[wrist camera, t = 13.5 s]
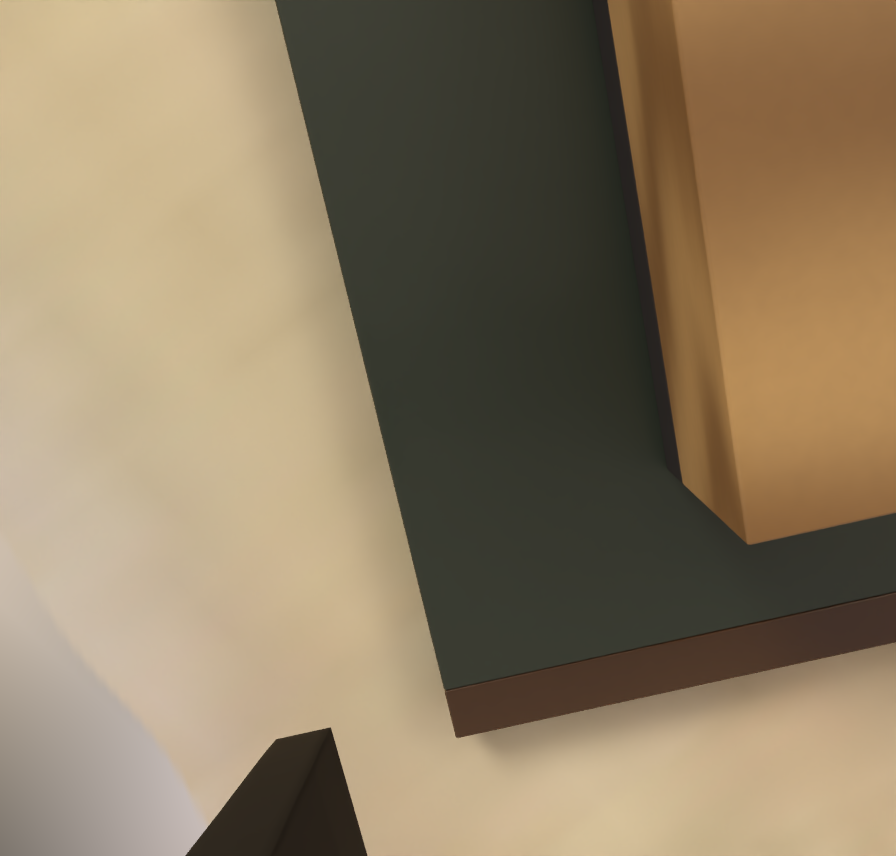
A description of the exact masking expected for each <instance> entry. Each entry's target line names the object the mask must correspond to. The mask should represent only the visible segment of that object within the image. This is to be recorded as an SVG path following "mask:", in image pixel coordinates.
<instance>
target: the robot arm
mask: <svg viewBox="0 0 896 856" xmlns="http://www.w3.org/2000/svg"><path fill="white" fill-rule="evenodd" d="M186 856H367V853H366V849H365V846H364V842H363V839H362V835H361V832H360V828H359V825H358V821H357V818H356V814H355V811H354V807H353V804H352V800H351V797H350V793H349V790H348V786H347V783H346V779H345V776H344V772H343V769H342V765H341V762H340V758H339V755H338V751H337V748H336V744H335V741H334V737H333V734H332V730H331V728H326V729H322V730H317V731H312V732H308V733H303V734H299V735H294V736H290V737H285V738H280V739H276V740H275V741H274V743H273V744H272V745H271V746H270V747H269V749H268V750H267V751H266V752H265V753H264V755H263V756H262V757H261V758H260V760H259V761H258V762H257V764H256V765H255V766H254V767H253V769H252V770H251V771H250V773H249V774H248V775H247V777H246V778H245V779H244V781H243V782H242V783H241V785H240V786H239V787H238V789H237V790H236V791H235V792H234V794H233V795H232V796H231V798H230V799H229V800H228V802H227V803H226V804H225V806H224V807H223V808H222V810H221V811H220V812H219V813H218V815H217V816H216V817H215V819H214V820H213V821H212V822H211V824H210V825H209V826H208V828H207V829H206V830H205V831H204V833H203V834H202V835H201V836H200V838H199V839H198V840H197V842H196V843H195V844H194V845H193V847H192V848H191V850H190V851H189V852H188V853H187V855H186Z"/></svg>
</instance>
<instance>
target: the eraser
mask: <svg viewBox="0 0 896 856" xmlns="http://www.w3.org/2000/svg"><path fill="white" fill-rule="evenodd" d="M592 2H593V8H594V14H595V21H596V27H597V33H598V39H599V46H600V52H601V58H602V64H603V71H604V77H605V83H606V89H607V96H608V102H609V108H610V114H611V121H612V127H613V133H614V139H615V146H616V152H617V158H618V164H619V171H620V177H621V183H622V189H623V196H624V202H625V208H626V214H627V221H628V227H629V233H630V239H631V246H632V252H633V258H634V264H635V271H636V277H637V283H638V289H639V296H640V302H641V308H642V314H643V321H644V327H645V333H646V339H647V346H648V352H649V358H650V364H651V371H652V377H653V383H654V389H655V396H656V402H657V408H658V414H659V421H660V427H661V433H662V439H663V446H664V452H665V458H666V464H667V469H668V470H669V471H670V472H671V473H672V474H673V475H674V476H675V477H676V478H677V479H679V480H680V481H681V482H682V483H683V484H684V485H685V486H686V487H687V488H688V489H689V490H690V491H691V492H692V493H693V494H694V495H695V496H696V497H697V498H699V499H700V500H701V501H702V502H703V503H704V504H705V505H706V506H707V507H708V508H709V509H710V510H711V511H712V512H713V513H715V514H716V515H717V516H718V517H719V518H720V519H721V520H722V521H723V522H724V523H725V524H726V525H727V526H728V527H729V528H731V529H732V530H733V531H734V532H735V533H736V534H737V535H738V536H739V537H740V538H741V539H742V540H743V541H744V542H745V543H747V544H749V545H752V544H757V543H761V542H766V541H770V540H775V539H779V538H784V537H788V536H793V535H798V534H802V533H807V532H811V531H816V530H820V529H825V528H829V527H834V526H838V525H843V524H848V523H852V522H857V521H861V520H866V519H870V518H875V517H879V516H884V515H889V514H893V513H896V0H592Z"/></svg>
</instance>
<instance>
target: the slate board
mask: <svg viewBox="0 0 896 856" xmlns="http://www.w3.org/2000/svg"><path fill="white" fill-rule="evenodd" d="M275 2H276V6H277V10H278V14H279V18H280V22H281V26H282V30H283V34H284V39H285V43H286V47H287V51H288V55H289V59H290V63H291V67H292V71H293V75H294V79H295V83H296V87H297V91H298V96H299V100H300V104H301V108H302V112H303V116H304V120H305V124H306V128H307V132H308V136H309V140H310V144H311V149H312V153H313V157H314V161H315V165H316V169H317V173H318V177H319V181H320V185H321V189H322V193H323V197H324V202H325V206H326V210H327V214H328V218H329V222H330V226H331V230H332V234H333V238H334V242H335V246H336V250H337V255H338V259H339V263H340V267H341V271H342V275H343V279H344V283H345V287H346V291H347V295H348V299H349V303H350V308H351V312H352V316H353V320H354V324H355V328H356V332H357V336H358V340H359V344H360V348H361V352H362V356H363V361H364V365H365V369H366V373H367V377H368V381H369V385H370V389H371V393H372V397H373V401H374V405H375V409H376V413H377V418H378V422H379V426H380V430H381V434H382V438H383V442H384V446H385V450H386V454H387V458H388V462H389V466H390V471H391V475H392V479H393V483H394V487H395V491H396V495H397V499H398V503H399V507H400V511H401V515H402V519H403V524H404V528H405V532H406V536H407V540H408V544H409V548H410V552H411V556H412V560H413V564H414V568H415V572H416V577H417V581H418V585H419V589H420V593H421V597H422V601H423V605H424V609H425V613H426V617H427V621H428V625H429V630H430V634H431V638H432V642H433V646H434V650H435V654H436V658H437V662H438V666H439V670H440V674H441V678H442V683H443V687H444V689H445V695H446V699H447V703H448V707H449V711H450V715H451V719H452V723H453V727H454V731H455V735H456V737H457V738H460V737H465V736H469V735H474V734H478V733H483V732H487V731H492V730H497V729H501V728H506V727H510V726H515V725H519V724H524V723H529V722H533V721H538V720H542V719H547V718H551V717H556V716H561V715H565V714H570V713H574V712H579V711H583V710H588V709H593V708H597V707H602V706H606V705H611V704H615V703H620V702H625V701H629V700H634V699H638V698H643V697H647V696H652V695H657V694H661V693H666V692H670V691H675V690H679V689H684V688H689V687H693V686H698V685H702V684H707V683H711V682H716V681H721V680H725V679H730V678H734V677H739V676H743V675H748V674H753V673H757V672H762V671H766V670H771V669H775V668H780V667H785V666H789V665H794V664H798V663H803V662H807V661H812V660H817V659H821V658H826V657H830V656H835V655H839V654H844V653H849V652H853V651H858V650H862V649H867V648H871V647H876V646H881V645H885V644H890V643H894V642H896V513H893V514H889V515H884V516H879V517H875V518H870V519H866V520H861V521H857V522H852V523H848V524H843V525H838V526H834V527H829V528H825V529H820V530H816V531H811V532H807V533H802V534H798V535H793V536H788V537H784V538H779V539H775V540H770V541H766V542H761V543H757V544H752V545H749V544H747V543H745V542H744V541H743V540H742V539H741V538H740V537H739V536H738V535H737V534H736V533H735V532H734V531H733V530H732V529H731V528H729V527H728V526H727V525H726V524H725V523H724V522H723V521H722V520H721V519H720V518H719V517H718V516H717V515H716V514H715V513H713V512H712V511H711V510H710V509H709V508H708V507H707V506H706V505H705V504H704V503H703V502H702V501H701V500H700V499H699V498H697V497H696V496H695V495H694V494H693V493H692V492H691V491H690V490H689V489H688V488H687V487H686V486H685V485H684V484H683V483H682V482H681V481H680V480H679V479H677V478H676V477H675V476H674V475H673V474H672V473H671V472H670V471H669V470H668V469H667V464H666V458H665V452H664V446H663V439H662V433H661V427H660V421H659V414H658V408H657V402H656V396H655V389H654V383H653V377H652V371H651V364H650V358H649V352H648V346H647V339H646V333H645V327H644V321H643V314H642V308H641V302H640V296H639V289H638V283H637V277H636V271H635V264H634V258H633V252H632V246H631V239H630V233H629V227H628V221H627V214H626V208H625V202H624V196H623V189H622V183H621V177H620V171H619V164H618V158H617V152H616V146H615V139H614V133H613V127H612V121H611V114H610V108H609V102H608V96H607V89H606V83H605V77H604V71H603V64H602V58H601V52H600V46H599V39H598V33H597V27H596V21H595V14H594V8H593V2H592V0H275Z"/></svg>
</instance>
